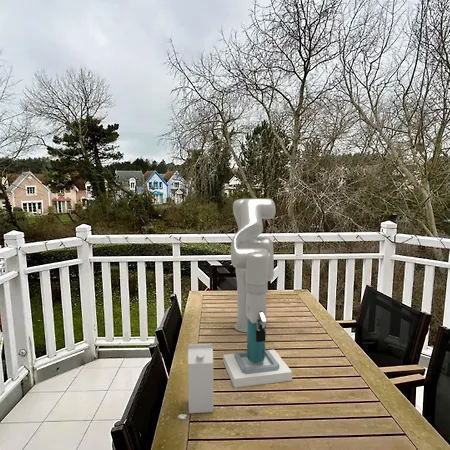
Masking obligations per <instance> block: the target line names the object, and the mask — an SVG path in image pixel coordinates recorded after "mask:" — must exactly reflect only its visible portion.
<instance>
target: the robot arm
mask: <svg viewBox="0 0 450 450" xmlns="http://www.w3.org/2000/svg"><path fill="white" fill-rule="evenodd" d="M276 208H277V207H276V204H275V202H274V200H273V199H272V198H238V199H236V200H234V202H233V203H232V212H233V216H234V219H235V221H236V224H237V228H238V229H237V231H236V232H235V234H234V235H233V238H232V240H231V243H230V261H231V262H230V263H231V265H232V267H234V268H235V276H236V277H235V278H236V287H237V288H236V291H237V296H236V297H237V298H236V299H237V301H236V302H237V307H236V310H237V311H236V312H237V313H236V316H237V319H236V322H235V323H234V324H233V328H234V329H235V330H236V331H237V332H241V333H247V319H249V320H250V321H251V322H252V323H253V324H254V323H256V327H257V330H256V342H263V341H265V342H266V335H267V334H266V330H267V326H266V325H267V297H266V295H267V294H268V282H271V281H272V280H273V279H274V276H275V270H274V269H275V267H274V266H275V265H274V264H275V263H274V260H275V259H274V255H275V254H274V244H273V243H274V242H273V240H272V239H271V238H270V237H266V236H260V235H261V234H262V233H263V231H264V227H263V226H264V224H263V220H268V219H269V220H270V219H274V218H275V215H276V212H277V211H276V210H277V209H276ZM257 320H261V321H257ZM259 324H261V325H260V326H259Z"/></svg>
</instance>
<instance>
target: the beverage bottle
mask: <svg viewBox="0 0 450 450" xmlns="http://www.w3.org/2000/svg"><path fill="white" fill-rule="evenodd" d="M257 321H261V320H257ZM260 325H261V324H259V326H260ZM256 330H257V327H256V323H254V324H253V323H252V322H251V321H250V320H249V319H247V334H246V335H247V336H246V351H247V358H248V360H249V361H251V362H262V361H264V359H265V349H266V340H265V341H263V342H256Z"/></svg>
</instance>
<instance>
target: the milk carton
mask: <svg viewBox="0 0 450 450" xmlns="http://www.w3.org/2000/svg"><path fill="white" fill-rule="evenodd" d="M213 349H214V347H213V343H202V344H201V343H198V344H197V343H196V344H195V343H194V344H188V346H187V353H188V354H187V369H188V371H187V372H188V373H187V375H188V376H187V384H188V388H187V389H188V396H187V397H188V414H201V413H214V353H213V352H214V351H213Z"/></svg>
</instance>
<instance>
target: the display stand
mask: <svg viewBox="0 0 450 450" xmlns="http://www.w3.org/2000/svg"><path fill="white" fill-rule="evenodd" d="M222 361H223V362H222V363H223V365H224V367H225V369H226V371H227V375H228V376H229V379H230V381H231V383H232V385H233V388H234V389H236V388H243V387H250V386H251V387H252V386H258V385H259V386H260V385H265V384H266V385H268V384H274V383H283V382H290V381H293V371H292V370H291V368H290V367H289V366H288V365H287V364H286V362H285V361H284V360H283V359H282V357H281V356H280V355H279V353H278V352H277V351H276V350H275V349H266V348H265V359H264V361H262V362H251V361H249V360H248V358H247V350H245V351H236V352H235V353H229V354H223V359H222Z"/></svg>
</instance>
